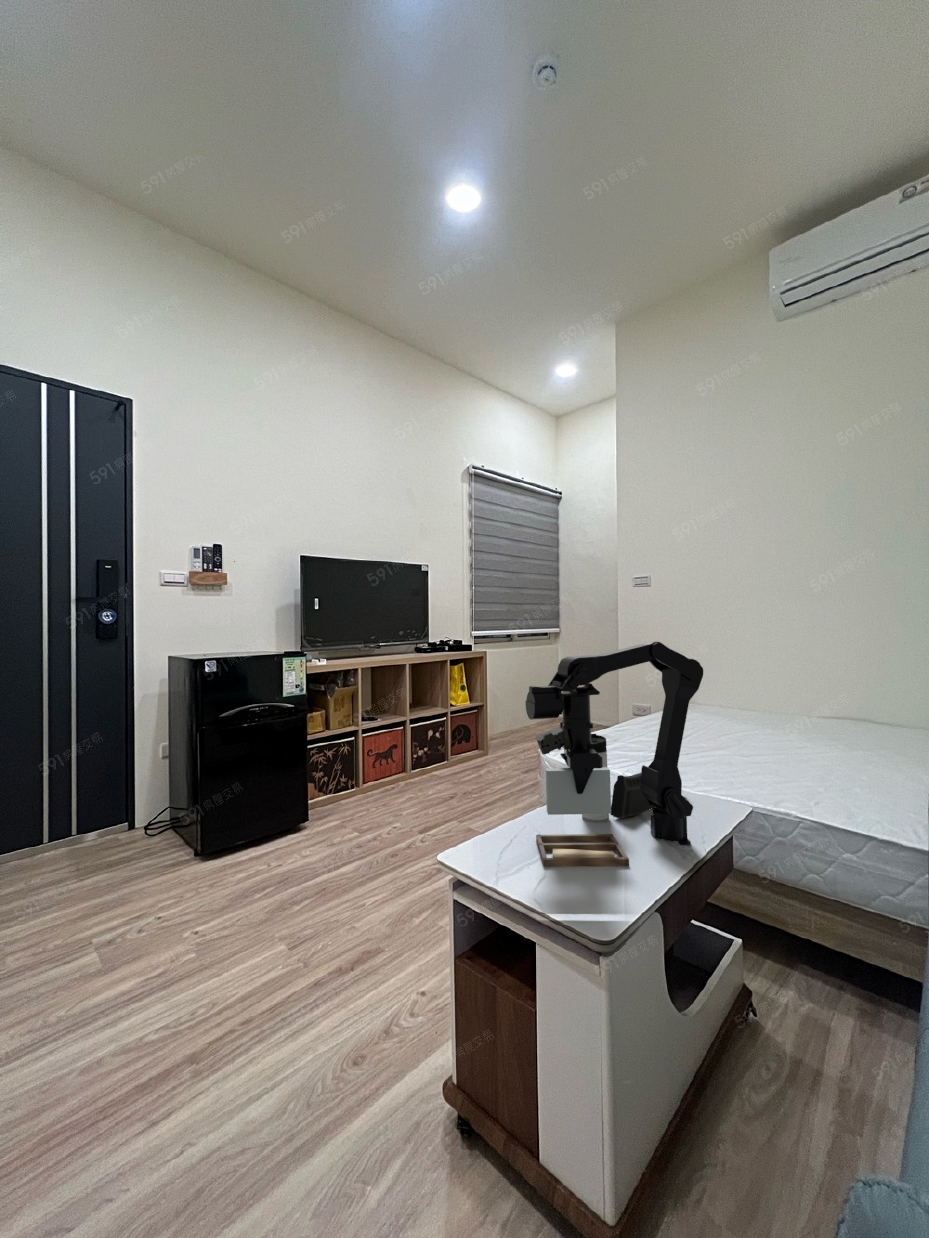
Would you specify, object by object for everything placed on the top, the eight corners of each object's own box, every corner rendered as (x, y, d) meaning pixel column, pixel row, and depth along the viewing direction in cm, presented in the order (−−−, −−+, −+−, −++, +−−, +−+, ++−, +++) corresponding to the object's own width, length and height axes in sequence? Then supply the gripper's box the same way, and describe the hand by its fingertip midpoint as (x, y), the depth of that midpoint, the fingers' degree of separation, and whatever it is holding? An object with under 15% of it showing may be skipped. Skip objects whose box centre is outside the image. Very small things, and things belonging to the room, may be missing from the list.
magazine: (615, 787, 118) (672, 732, 138) (603, 784, 121) (661, 730, 140) (629, 852, 121) (683, 789, 141) (616, 848, 124) (671, 786, 143)
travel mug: (608, 815, 125) (605, 733, 125) (609, 825, 118) (606, 739, 119) (582, 814, 126) (579, 733, 127) (582, 824, 120) (579, 738, 121)
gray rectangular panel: (608, 810, 107) (607, 767, 107) (611, 813, 105) (609, 769, 105) (546, 811, 107) (545, 768, 108) (548, 814, 105) (546, 770, 106)
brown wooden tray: (612, 843, 109) (612, 833, 109) (629, 869, 97) (629, 859, 97) (536, 844, 109) (536, 834, 109) (543, 870, 97) (543, 859, 97)
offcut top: (614, 855, 102) (613, 851, 102) (616, 864, 98) (615, 860, 98) (552, 851, 104) (552, 847, 104) (552, 860, 100) (552, 856, 100)
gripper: (533, 710, 116) (534, 779, 116) (543, 725, 98) (545, 807, 97) (582, 709, 116) (584, 778, 116) (602, 724, 97) (604, 807, 97)
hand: (578, 791), depth 106 cm, fingers closed on gray rectangular panel, 2 cm apart
